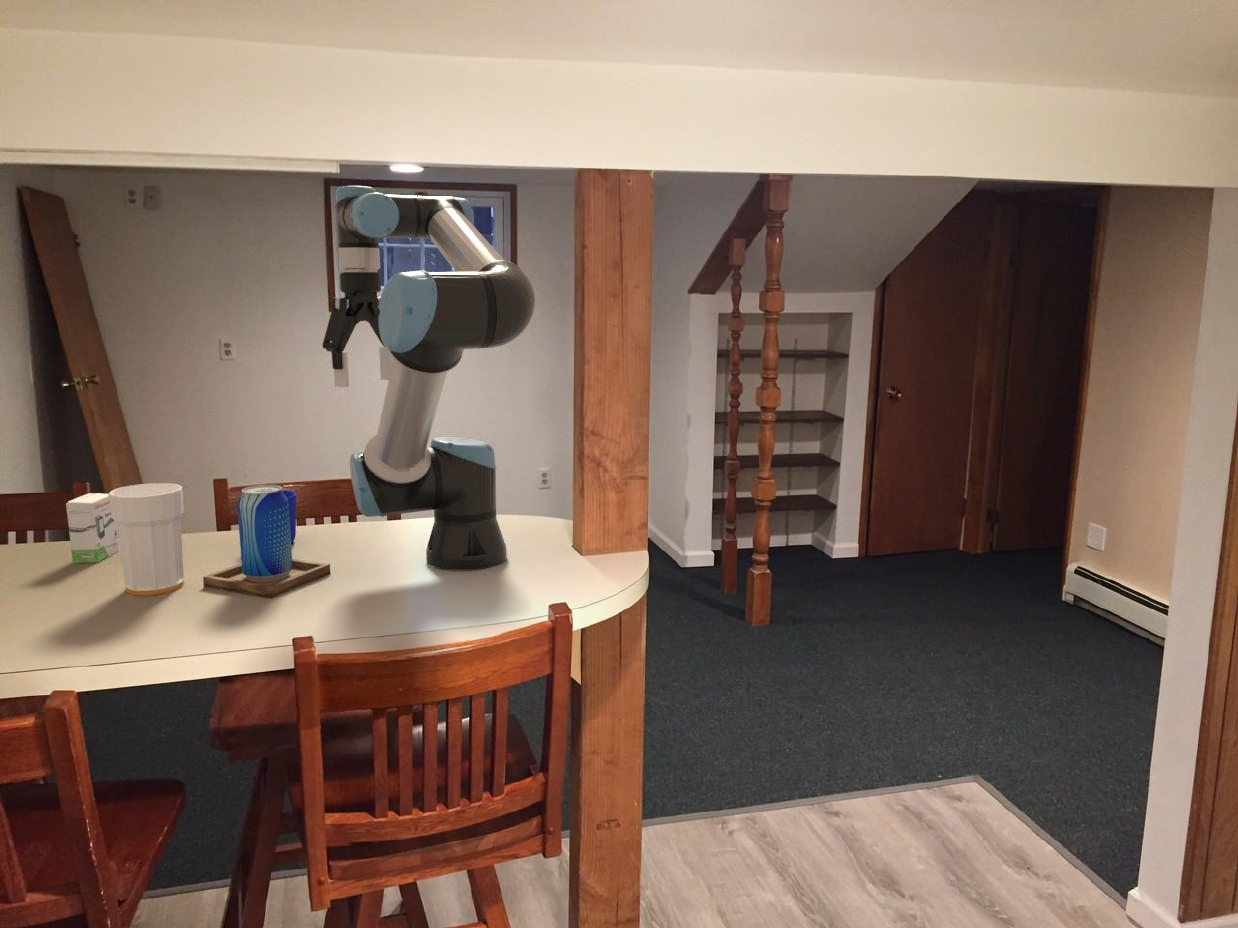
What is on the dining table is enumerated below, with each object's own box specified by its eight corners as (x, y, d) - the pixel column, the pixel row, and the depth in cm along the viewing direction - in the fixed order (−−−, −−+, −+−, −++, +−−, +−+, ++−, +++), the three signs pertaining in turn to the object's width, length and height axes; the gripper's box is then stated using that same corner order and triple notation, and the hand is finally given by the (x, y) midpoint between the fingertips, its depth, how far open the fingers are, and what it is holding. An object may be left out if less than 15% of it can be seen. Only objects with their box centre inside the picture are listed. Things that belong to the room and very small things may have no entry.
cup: (107, 588, 169) (97, 490, 166) (171, 573, 177) (163, 480, 174) (137, 602, 162) (127, 500, 158) (202, 586, 170) (194, 488, 167)
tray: (330, 573, 177) (329, 564, 177) (269, 598, 164) (269, 588, 163) (267, 563, 183) (266, 554, 183) (203, 586, 170) (203, 576, 170)
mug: (313, 533, 205) (310, 486, 203) (288, 548, 193) (285, 499, 191) (276, 532, 206) (272, 485, 204) (249, 547, 194) (245, 498, 192)
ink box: (97, 563, 184) (90, 502, 182) (71, 563, 184) (64, 502, 182) (120, 550, 192) (114, 492, 190) (95, 550, 192) (89, 492, 190)
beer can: (271, 586, 168) (265, 495, 165) (232, 581, 171) (225, 492, 168) (302, 572, 176) (297, 485, 173) (264, 567, 179) (258, 482, 176)
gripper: (385, 271, 197) (389, 376, 202) (297, 271, 175) (305, 388, 179) (415, 271, 194) (419, 377, 198) (330, 271, 172) (337, 390, 176)
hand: (365, 383), depth 189 cm, fingers open, 13 cm apart
